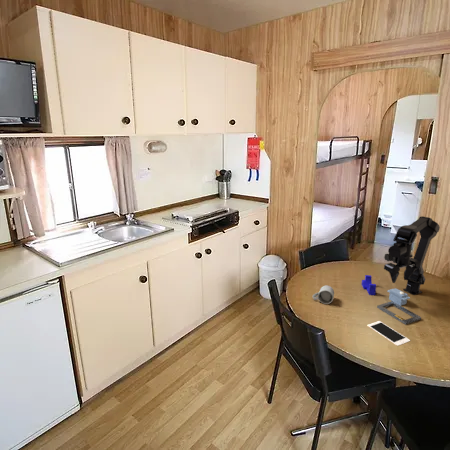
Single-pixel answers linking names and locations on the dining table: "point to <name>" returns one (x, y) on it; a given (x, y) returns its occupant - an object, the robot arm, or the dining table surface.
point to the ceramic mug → (325, 295)
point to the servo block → (398, 296)
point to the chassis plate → (407, 321)
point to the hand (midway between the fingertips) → (400, 280)
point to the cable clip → (369, 285)
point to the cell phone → (388, 333)
